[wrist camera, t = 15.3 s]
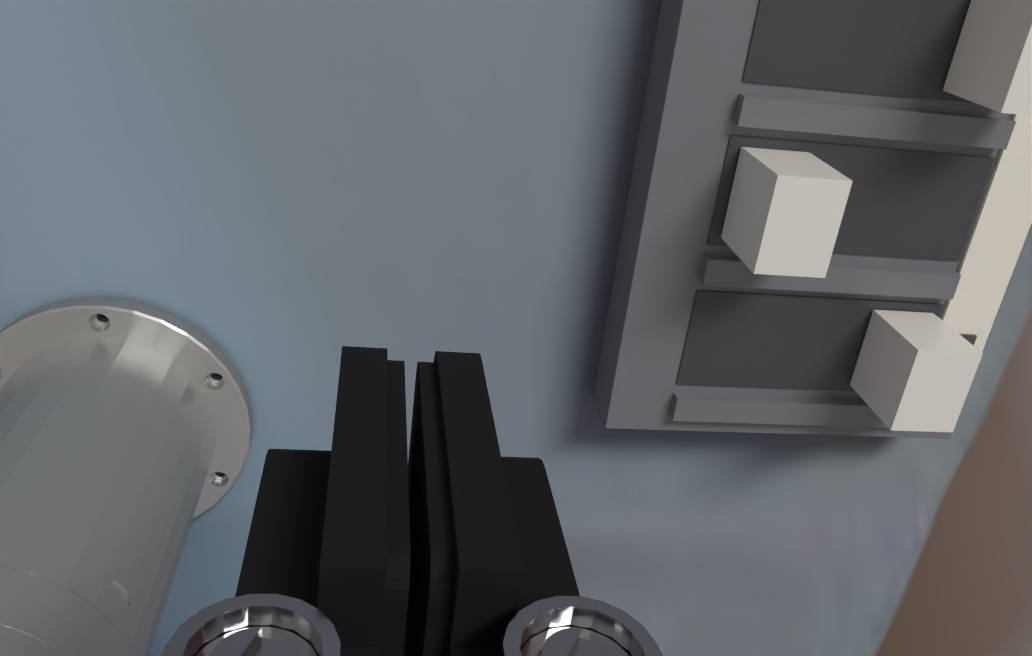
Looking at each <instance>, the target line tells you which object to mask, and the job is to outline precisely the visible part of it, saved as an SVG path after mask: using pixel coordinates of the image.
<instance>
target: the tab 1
mask: <svg viewBox="0 0 1032 656" xmlns="http://www.w3.org/2000/svg"><path fill="white" fill-rule="evenodd" d="M982 355H983V353H982V352H981V351H980V350H978V349H977V348H976V347H975V346H973V345H972V344H971V343H970V342H968V341H967V340H966V339H965V338H963V337H962V336H961V335H960V334H959V333H957V332H956V331H955V330H954V329H952V328H951V327H950V326H949V325H947V324H946V323H945V322H944V321H942V320H941V319H940V318H939V317H937V316H936V315H935V314H934V313H926V312H907V311H889V310H873V313H872V316H871V319H870V322H869V325H868V328H867V332H866V335H865V338H864V341H863V344H862V347H861V351H860V354H859V357H858V360H857V363H856V366H855V370H854V373H853V376H852V379H851V382H850V386H851V387H852V388H853V389H854V390H855V391H856V392H857V394H858V395H859V396H860V397H861V398H862V399H863V400H864V401H865V402H866V404H867V405H868V406H869V407H870V408H871V409H872V410H873V411H874V412H875V414H876V415H877V416H878V417H879V418H880V419H881V420H882V421H883V423H884V424H885V425H886V426H887V427H888V428H889V429H890V430H892V431H923V432H953V430H954V428H955V425H956V423H957V420H958V417H959V415H960V412H961V410H962V407H963V404H964V402H965V399H966V396H967V394H968V391H969V389H970V386H971V383H972V381H973V378H974V376H975V373H976V370H977V368H978V365H979V363H980V360H981V357H982Z"/></svg>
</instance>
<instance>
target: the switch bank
mask: <svg viewBox="0 0 1032 656" xmlns="http://www.w3.org/2000/svg"><path fill="white" fill-rule="evenodd" d="M970 2H971V0H661V6H660V12H659V17H658V23H657V29H656V35H655V41H654V47H653V52H652V58H651V64H650V70H649V76H648V81H647V87H646V93H645V99H644V105H643V110H642V116H641V122H640V128H639V134H638V140H637V145H636V151H635V157H634V163H633V169H632V174H631V180H630V186H629V192H628V198H627V203H626V209H625V215H624V221H623V227H622V233H621V238H620V244H619V250H618V256H617V262H616V267H615V273H614V279H613V285H612V291H611V296H610V302H609V308H608V314H607V320H606V326H605V331H604V337H603V343H602V349H601V355H600V360H599V366H598V372H597V378H596V384H595V389H594V395H593V396H594V399H595V402H596V404H597V407H598V409H599V412H600V415H601V417H602V420H603V423H604V425H605V428H614V429H647V430H680V431H713V432H745V433H778V434H811V435H844V436H877V437H910V438H943V439H950V437H951V434H952V432H923V431H892V430H890V429H889V428H888V427H887V426H886V425H885V424H884V423H883V421H882V420H881V419H880V418H879V417H878V416H877V415H876V414H875V412H874V411H873V410H872V409H871V408H870V407H869V406H868V405H867V404H866V402H865V401H864V400H863V399H862V398H861V397H860V396H859V395H858V394H857V392H856V391H855V390H854V389H853V388H852V387H851V386H850V382H851V379H852V376H853V373H854V370H855V366H856V363H857V360H858V357H859V354H860V351H861V347H862V344H863V341H864V338H865V335H866V332H867V328H868V325H869V322H870V319H871V316H872V313H873V310H889V311H907V312H926V313H934V314H935V315H936V316H937V317H939V318H940V319H941V320H942V321H944V322H945V323H946V324H947V325H949V326H950V327H951V328H952V329H954V330H955V331H956V332H957V333H959V334H960V335H961V336H962V337H963V338H965V339H966V340H967V341H968V342H970V343H971V344H972V345H973V346H975V347H976V348H977V349H978V350H980V351H981V352H982V353H983V351H984V348H985V345H986V343H987V340H988V337H989V335H990V332H991V330H992V327H993V324H994V322H995V319H996V317H997V314H998V311H999V309H1000V306H1001V304H1002V301H1003V298H1004V296H1005V293H1006V291H1007V288H1008V285H1009V283H1010V280H1011V278H1012V275H1013V272H1014V270H1015V267H1016V264H1017V262H1018V259H1019V257H1020V254H1021V251H1022V249H1023V246H1024V244H1025V241H1026V238H1027V236H1028V233H1029V231H1030V228H1031V225H1032V116H1030V115H1019V114H1008V113H1000V112H998V111H995V110H992V109H990V108H987V107H985V106H982V105H979V104H977V103H974V102H971V101H969V100H966V99H964V98H961V97H958V96H956V95H953V94H951V93H948V92H945V91H943V88H944V84H945V81H946V78H947V75H948V72H949V69H950V65H951V62H952V59H953V56H954V53H955V49H956V46H957V43H958V40H959V37H960V34H961V30H962V27H963V24H964V21H965V18H966V15H967V11H968V8H969V5H970ZM741 147H751V148H763V149H775V150H787V151H799V152H810V153H811V154H813V155H814V156H816V157H817V158H819V159H820V160H822V161H823V162H825V163H826V164H828V165H829V166H831V167H832V168H834V169H835V170H837V171H839V172H840V173H842V174H843V175H845V176H846V177H848V178H849V179H851V180H852V181H853V182H852V185H851V189H850V192H849V196H848V200H847V203H846V207H845V210H844V214H843V217H842V221H841V224H840V228H839V231H838V235H837V238H836V242H835V245H834V249H833V252H832V256H831V259H830V263H829V266H828V270H827V273H826V277H825V278H815V277H798V276H781V275H765V274H753V272H752V271H751V270H750V269H749V268H748V267H747V266H746V265H745V264H744V263H743V261H742V260H741V259H740V258H739V257H738V256H737V255H736V254H735V253H734V252H733V250H732V249H731V248H730V247H729V246H728V245H727V244H726V243H725V242H724V241H723V239H722V238H721V235H722V230H723V226H724V222H725V217H726V213H727V208H728V204H729V199H730V195H731V190H732V186H733V181H734V177H735V173H736V168H737V164H738V159H739V155H740V150H741Z"/></svg>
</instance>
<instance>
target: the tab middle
mask: <svg viewBox="0 0 1032 656" xmlns="http://www.w3.org/2000/svg"><path fill="white" fill-rule="evenodd" d="M852 182H853V181H852V180H851V179H849V178H848V177H846V176H845V175H843V174H842V173H840V172H839V171H837V170H835V169H834V168H832V167H831V166H829V165H828V164H826V163H825V162H823V161H822V160H820V159H819V158H817V157H816V156H814V155H813V154H811V153H810V152H799V151H787V150H775V149H763V148H751V147H741V150H740V155H739V159H738V164H737V168H736V173H735V177H734V181H733V186H732V190H731V195H730V199H729V204H728V208H727V213H726V217H725V222H724V226H723V230H722V235H721V238H722V239H723V241H724V242H725V243H726V244H727V245H728V246H729V247H730V248H731V249H732V250H733V252H734V253H735V254H736V255H737V256H738V257H739V258H740V259H741V260H742V261H743V263H744V264H745V265H746V266H747V267H748V268H749V269H750V270H751V271H752V272H753V274H765V275H781V276H798V277H815V278H825V277H826V273H827V270H828V266H829V263H830V259H831V256H832V252H833V249H834V245H835V242H836V238H837V235H838V231H839V228H840V224H841V221H842V217H843V214H844V210H845V207H846V203H847V200H848V196H849V192H850V189H851V185H852Z"/></svg>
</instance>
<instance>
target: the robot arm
mask: <svg viewBox="0 0 1032 656" xmlns="http://www.w3.org/2000/svg"><path fill="white" fill-rule="evenodd" d="M100 314H102V315H105V316H106V317H107V318H103V317H102V316H101V315H100ZM214 373H217V374H220V375H221V376H217V375H215V374H214ZM252 434H253V421H252V409H251V405H250V401H249V397H248V393H247V390H246V388H245V386H244V384H243V382H242V380H241V378H240V376H239V374H238V372H237V370H236V368H235V367H234V366H233V365H232V363H231V362H230V361H229V359H228V358H227V357H226V355H225V354H224V353H223V352H222V350H221V349H219V348H218V347H217V346H216V345H215V344H214V343H213V342H212V341H211V340H210V339H208V338H207V337H206V336H205V335H204V334H203V333H202V332H200V331H198V330H197V329H195V328H194V327H192V326H191V325H189V324H187V323H186V322H184V321H183V320H181V319H180V318H177V317H175V316H173V315H170V314H168V313H166V312H163V311H161V310H159V309H156V308H154V307H151V306H147V305H143V304H139V303H135V302H131V301H127V300H120V299H108V298H97V297H96V298H82V299H69V300H65V301H61V302H57V303H53V304H49V305H45V306H42V307H40V308H37V309H35V310H33V311H31V312H29V313H27V314H25V315H23V316H20V317H19V318H17V319H16V320H15V321H13V322H12V323H11V324H9V325H8V326H7V327H5V328H4V329H3V330H1V331H0V656H148V655H149V652H150V649H151V646H152V643H153V640H154V637H155V633H156V630H157V627H158V624H159V621H160V618H161V615H162V612H163V609H164V606H165V603H166V599H167V596H168V593H169V590H170V587H171V584H172V581H173V578H174V575H175V572H176V569H177V565H178V562H179V559H180V556H181V553H182V550H183V547H184V544H185V541H186V538H187V535H188V531H189V528H190V525H191V522H192V519H195V518H197V517H199V516H200V515H202V514H203V513H205V512H206V511H207V510H209V509H210V508H212V507H213V506H215V505H216V504H217V503H218V502H219V501H220V500H221V499H222V498H223V497H224V496H225V495H226V494H227V493H228V492H229V491H230V490H231V489H232V487H233V485H234V484H235V482H236V481H237V479H238V478H239V476H240V474H241V473H242V471H243V468H244V465H245V462H246V459H247V456H248V453H249V449H250V444H251V439H252ZM161 656H663V654H662V652H661V651H660V649H659V647H658V645H657V643H656V642H655V641H654V639H653V638H652V637H651V635H650V634H649V633H648V631H647V630H646V629H645V628H644V626H643V625H642V624H640V623H639V622H638V621H636V620H635V619H634V618H633V617H631V616H630V615H629V614H627V613H626V612H625V611H623V610H620V609H618V608H616V607H614V606H612V605H610V604H608V603H606V602H603V601H599V600H595V599H591V598H586V597H582V596H580V595H579V591H578V588H577V584H576V580H575V577H574V573H573V569H572V566H571V562H570V558H569V554H568V551H567V547H566V543H565V540H564V536H563V532H562V529H561V525H560V521H559V518H558V514H557V510H556V507H555V503H554V499H553V496H552V492H551V488H550V485H549V481H548V477H547V474H546V470H545V467H544V464H543V462H542V460H541V459H539V458H523V457H501V455H500V450H499V445H498V440H497V435H496V430H495V425H494V420H493V415H492V410H491V405H490V400H489V395H488V390H487V385H486V380H485V375H484V370H483V365H482V359H481V356H480V354H477V353H459V352H440V351H436V352H435V356H434V363H431V362H418V364H417V372H416V382H415V393H414V405H413V416H412V427H411V438H410V450H409V461H408V460H407V429H406V398H405V367H404V361H393V360H387V349H384V348H365V347H347V346H342V355H341V365H340V374H339V384H338V394H337V403H336V413H335V422H334V432H333V442H332V451H318V450H289V449H269V450H268V452H267V455H266V459H265V464H264V468H263V473H262V477H261V482H260V487H259V491H258V496H257V500H256V505H255V509H254V514H253V518H252V523H251V528H250V532H249V537H248V541H247V546H246V550H245V555H244V560H243V564H242V569H241V573H240V578H239V582H238V587H237V591H236V596H235V597H233V598H228V599H224V600H222V601H220V602H217V603H215V604H213V605H211V606H208V607H206V608H204V609H202V610H200V611H199V612H197V613H196V614H195V615H194V616H192V617H191V618H190V619H188V620H187V621H186V622H184V623H183V624H182V625H181V626H180V627H179V629H178V630H177V631H176V633H175V634H174V635H173V637H172V638H171V639H170V641H169V642H168V643H167V645H166V647H165V649H164V651H163V653H162V655H161Z"/></svg>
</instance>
